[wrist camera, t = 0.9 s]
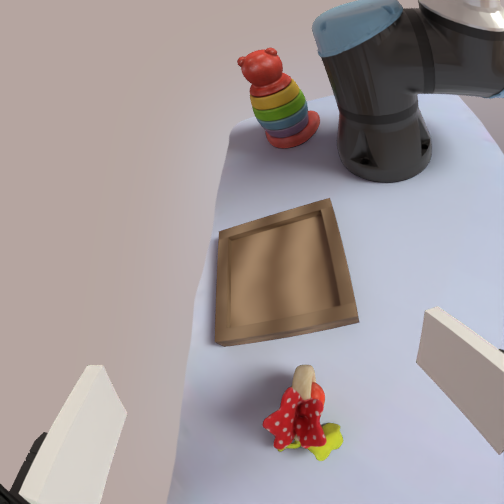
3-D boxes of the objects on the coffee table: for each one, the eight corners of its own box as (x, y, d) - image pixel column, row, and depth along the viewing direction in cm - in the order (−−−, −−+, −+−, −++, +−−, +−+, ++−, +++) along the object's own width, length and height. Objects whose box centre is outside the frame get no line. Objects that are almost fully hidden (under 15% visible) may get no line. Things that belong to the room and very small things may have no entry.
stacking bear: (320, 113, 50) (288, 34, 36) (319, 144, 45) (283, 51, 32) (269, 124, 55) (231, 52, 41) (262, 154, 50) (215, 73, 36)
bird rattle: (286, 398, 29) (279, 472, 21) (248, 340, 23) (229, 438, 16) (342, 390, 27) (343, 467, 19) (321, 327, 21) (322, 434, 14)
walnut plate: (333, 208, 37) (329, 198, 35) (359, 322, 28) (357, 315, 26) (226, 239, 42) (219, 231, 40) (224, 346, 33) (214, 342, 31)
